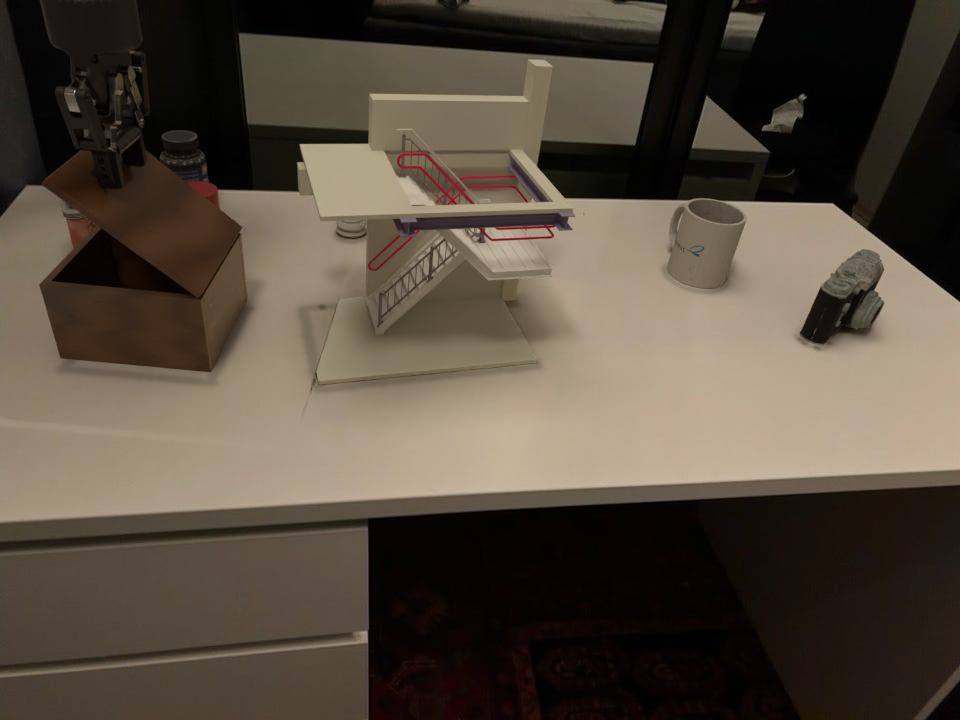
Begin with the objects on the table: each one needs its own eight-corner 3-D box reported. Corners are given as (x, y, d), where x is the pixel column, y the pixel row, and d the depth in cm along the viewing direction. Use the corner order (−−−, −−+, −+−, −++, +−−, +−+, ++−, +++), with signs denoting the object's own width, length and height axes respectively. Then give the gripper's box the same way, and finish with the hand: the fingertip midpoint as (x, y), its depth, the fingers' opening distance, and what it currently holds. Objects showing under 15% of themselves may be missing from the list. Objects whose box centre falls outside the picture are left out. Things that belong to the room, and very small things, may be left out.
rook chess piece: (350, 222, 111) (350, 171, 106) (372, 232, 109) (373, 181, 104) (329, 231, 108) (328, 180, 103) (351, 242, 106) (351, 190, 101)
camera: (844, 358, 95) (877, 292, 89) (794, 335, 98) (823, 269, 92) (881, 318, 104) (913, 256, 98) (835, 298, 108) (863, 237, 102)
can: (174, 252, 98) (165, 196, 94) (188, 232, 103) (180, 178, 98) (216, 256, 99) (209, 201, 94) (228, 237, 103) (223, 183, 99)
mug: (735, 288, 107) (757, 225, 101) (680, 288, 105) (700, 225, 99) (699, 247, 117) (718, 188, 111) (649, 247, 115) (665, 187, 109)
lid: (40, 184, 66) (68, 145, 64) (109, 129, 78) (135, 94, 75) (197, 298, 73) (228, 266, 71) (238, 231, 84) (265, 202, 82)
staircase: (321, 397, 78) (313, 114, 60) (302, 304, 92) (291, 51, 74) (559, 372, 86) (615, 116, 68) (509, 290, 100) (544, 60, 82)
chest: (61, 364, 78) (38, 284, 72) (118, 292, 90) (102, 218, 84) (211, 377, 79) (200, 299, 73) (248, 304, 90) (241, 232, 85)
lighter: (100, 266, 94) (84, 193, 88) (70, 268, 93) (52, 194, 87) (106, 237, 100) (91, 166, 94) (79, 238, 99) (61, 166, 93)
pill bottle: (217, 214, 108) (209, 141, 102) (174, 221, 105) (163, 146, 99) (203, 197, 112) (194, 126, 106) (162, 204, 109) (150, 130, 103)
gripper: (94, 9, 57) (134, 210, 67) (161, -24, 69) (187, 152, 79) (-5, -2, 57) (50, 202, 67) (79, -32, 69) (115, 146, 79)
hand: (124, 174), depth 73 cm, fingers closed on lid, 5 cm apart
